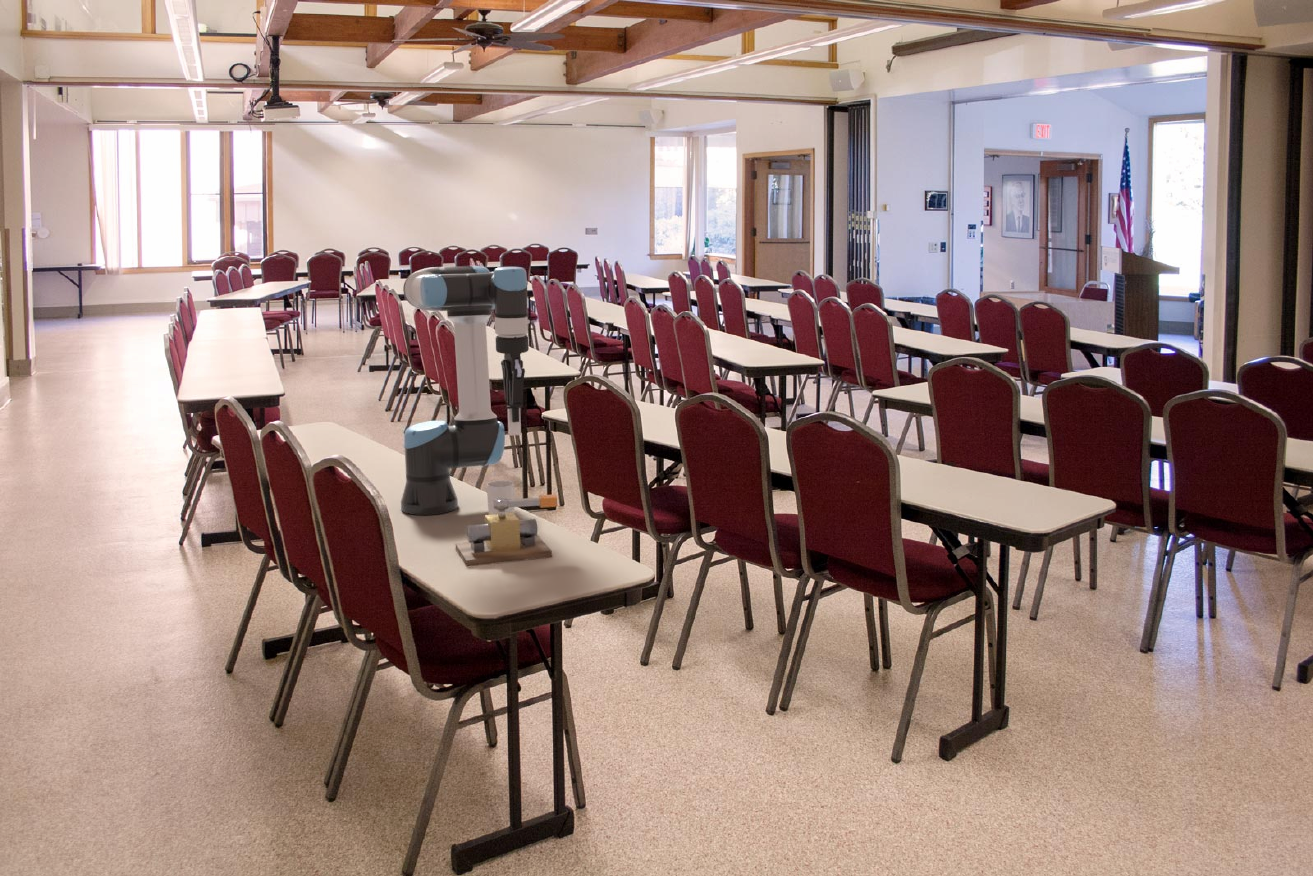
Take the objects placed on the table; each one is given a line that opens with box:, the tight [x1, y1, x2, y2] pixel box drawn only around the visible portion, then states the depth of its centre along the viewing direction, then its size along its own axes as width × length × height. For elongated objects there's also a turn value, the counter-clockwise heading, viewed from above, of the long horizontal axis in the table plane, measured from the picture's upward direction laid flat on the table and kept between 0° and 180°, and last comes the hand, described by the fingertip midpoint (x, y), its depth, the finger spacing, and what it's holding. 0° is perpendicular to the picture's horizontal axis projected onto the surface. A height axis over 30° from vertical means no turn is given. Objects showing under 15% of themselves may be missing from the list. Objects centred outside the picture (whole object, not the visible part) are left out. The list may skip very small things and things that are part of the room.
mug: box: [486, 480, 515, 515], centre depth 286 cm, size 10×7×12 cm, turn 19°
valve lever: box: [493, 493, 558, 510], centre depth 265 cm, size 15×4×2 cm, turn 102°
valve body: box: [466, 509, 538, 553], centre depth 265 cm, size 7×16×9 cm, turn 110°
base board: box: [454, 534, 553, 567], centre depth 266 cm, size 14×20×2 cm
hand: (514, 434), depth 265 cm, fingers closed
